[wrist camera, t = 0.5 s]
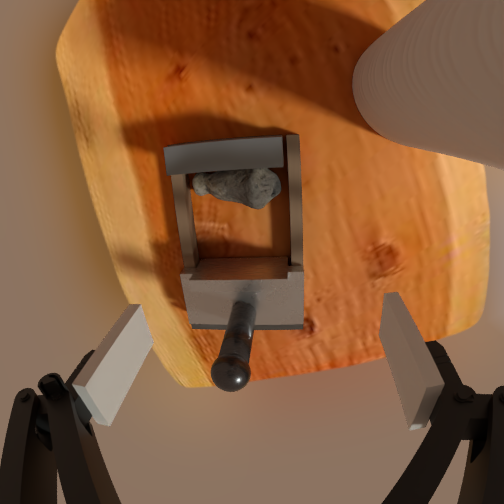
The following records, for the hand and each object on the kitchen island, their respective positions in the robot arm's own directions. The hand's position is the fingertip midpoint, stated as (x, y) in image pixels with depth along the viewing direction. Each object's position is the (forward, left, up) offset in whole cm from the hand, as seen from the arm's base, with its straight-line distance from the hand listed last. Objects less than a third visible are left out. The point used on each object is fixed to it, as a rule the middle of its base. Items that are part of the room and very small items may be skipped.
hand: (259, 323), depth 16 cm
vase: (-15, +17, -27) cm, 35 cm away
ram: (+12, -5, -26) cm, 29 cm away
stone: (-3, -5, -27) cm, 27 cm away
